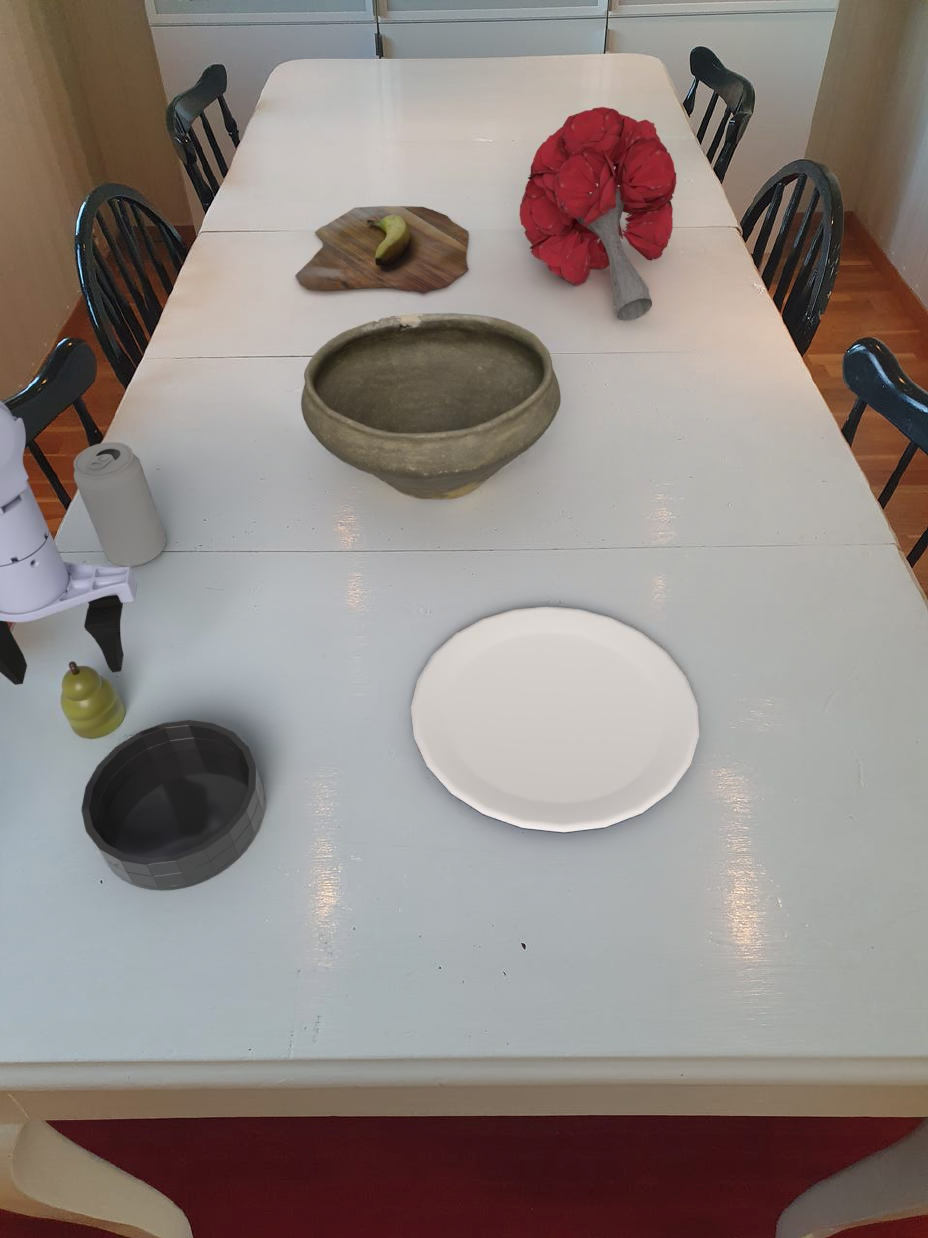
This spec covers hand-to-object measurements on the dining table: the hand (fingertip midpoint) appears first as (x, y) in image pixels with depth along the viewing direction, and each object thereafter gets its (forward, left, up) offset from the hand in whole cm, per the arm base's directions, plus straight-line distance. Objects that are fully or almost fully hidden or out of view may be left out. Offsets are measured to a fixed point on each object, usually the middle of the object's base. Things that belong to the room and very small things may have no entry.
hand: (69, 669), depth 74 cm
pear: (+1, +2, -8) cm, 8 cm away
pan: (+1, -13, -8) cm, 15 cm away
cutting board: (+83, +58, -8) cm, 102 cm away
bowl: (+47, +7, -8) cm, 48 cm away
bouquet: (+97, +25, -8) cm, 100 cm away
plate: (+30, -27, -8) cm, 41 cm away
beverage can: (+15, +19, -8) cm, 26 cm away
